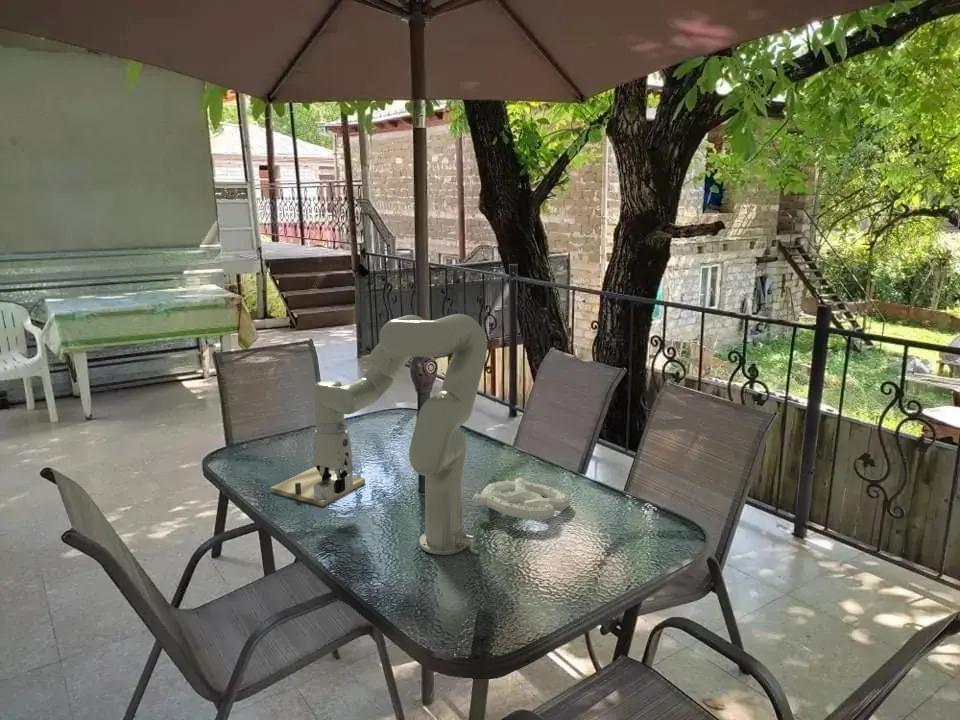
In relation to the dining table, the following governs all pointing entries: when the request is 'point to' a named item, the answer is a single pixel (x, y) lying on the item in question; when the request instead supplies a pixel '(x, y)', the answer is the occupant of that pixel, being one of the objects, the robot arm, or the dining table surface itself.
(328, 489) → the grey capsule bar
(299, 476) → the board
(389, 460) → the dining table surface
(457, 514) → the robot arm
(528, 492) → the pretzel
